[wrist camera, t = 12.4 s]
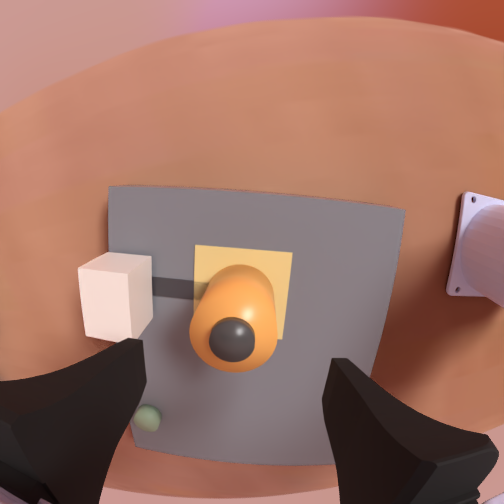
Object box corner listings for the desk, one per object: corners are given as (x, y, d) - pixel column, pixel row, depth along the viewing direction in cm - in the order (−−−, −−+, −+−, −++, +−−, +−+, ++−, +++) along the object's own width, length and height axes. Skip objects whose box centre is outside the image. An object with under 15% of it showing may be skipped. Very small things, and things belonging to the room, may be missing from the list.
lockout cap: (283, 276, 18) (291, 316, 13) (261, 334, 19) (261, 388, 14) (217, 255, 18) (198, 288, 13) (199, 315, 19) (178, 364, 14)
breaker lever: (151, 256, 18) (127, 274, 14) (153, 317, 19) (132, 345, 15) (107, 252, 18) (77, 267, 14) (111, 311, 19) (85, 335, 15)
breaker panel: (390, 205, 20) (414, 212, 16) (333, 445, 25) (339, 473, 21) (125, 184, 20) (99, 187, 16) (143, 429, 25) (131, 455, 21)
